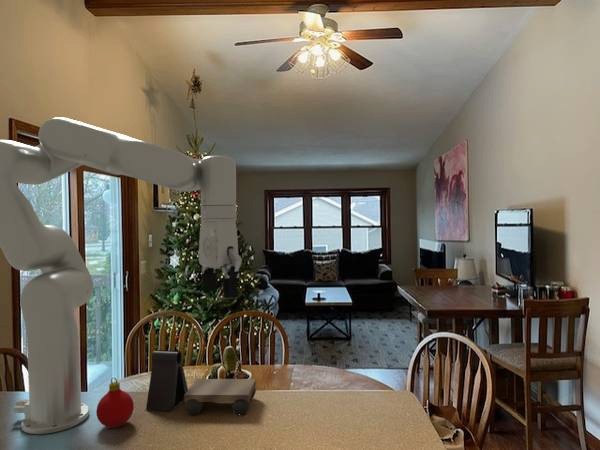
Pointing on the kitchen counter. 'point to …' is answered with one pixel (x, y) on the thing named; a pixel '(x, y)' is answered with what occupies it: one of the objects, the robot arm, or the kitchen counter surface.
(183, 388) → the phone stand
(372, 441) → the kitchen counter surface
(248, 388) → the trolley
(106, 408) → the christmas ornament
